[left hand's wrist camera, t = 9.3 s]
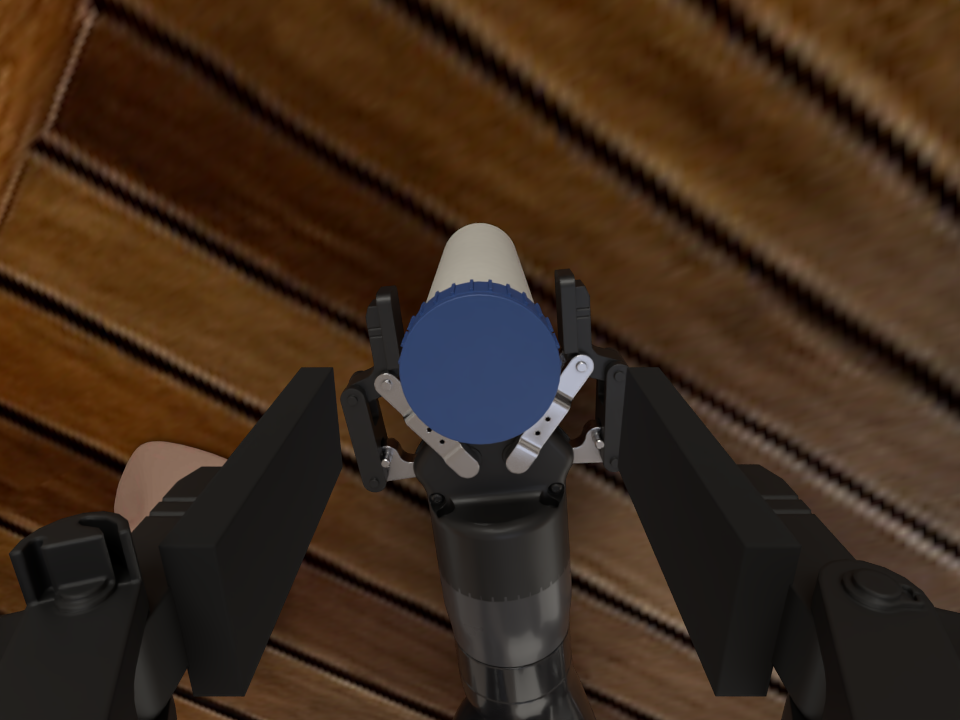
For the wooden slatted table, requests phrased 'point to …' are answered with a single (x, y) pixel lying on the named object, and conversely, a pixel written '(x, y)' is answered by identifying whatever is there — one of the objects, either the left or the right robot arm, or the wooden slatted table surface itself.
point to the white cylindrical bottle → (479, 260)
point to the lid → (480, 363)
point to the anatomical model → (156, 476)
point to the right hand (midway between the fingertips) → (474, 280)
